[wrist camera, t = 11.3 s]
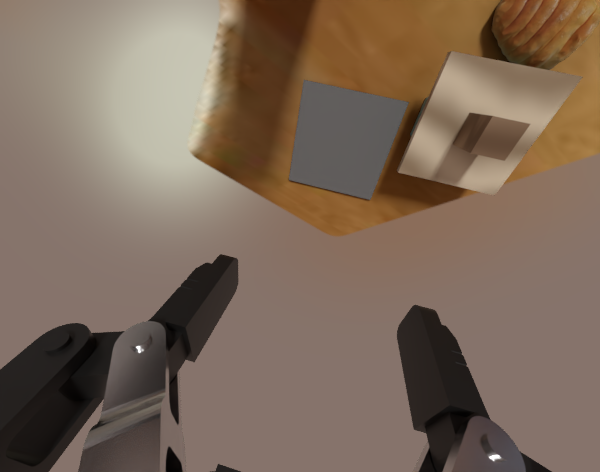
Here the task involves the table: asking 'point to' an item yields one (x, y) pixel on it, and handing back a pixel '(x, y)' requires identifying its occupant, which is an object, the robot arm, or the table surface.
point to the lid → (482, 120)
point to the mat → (343, 138)
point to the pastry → (543, 29)
